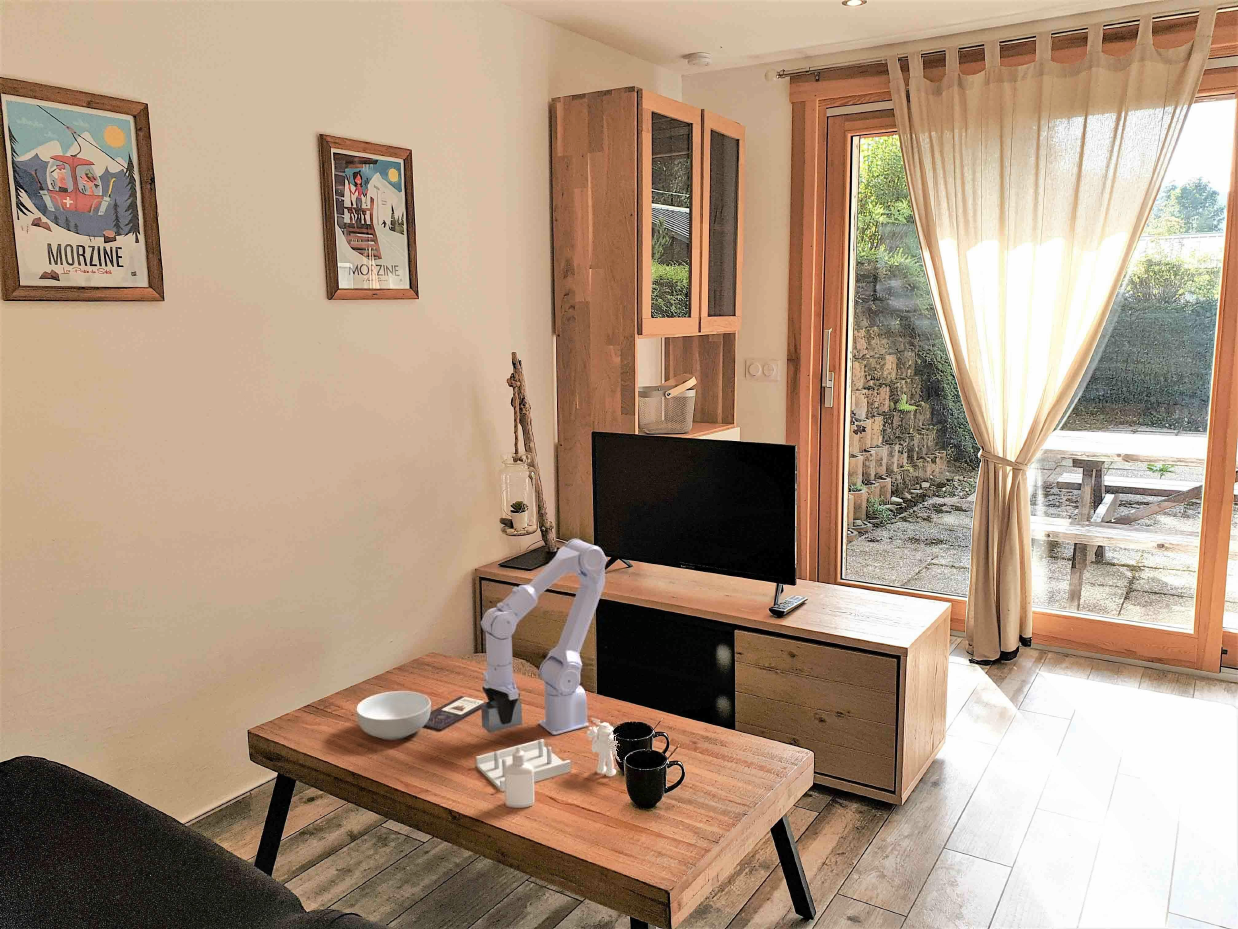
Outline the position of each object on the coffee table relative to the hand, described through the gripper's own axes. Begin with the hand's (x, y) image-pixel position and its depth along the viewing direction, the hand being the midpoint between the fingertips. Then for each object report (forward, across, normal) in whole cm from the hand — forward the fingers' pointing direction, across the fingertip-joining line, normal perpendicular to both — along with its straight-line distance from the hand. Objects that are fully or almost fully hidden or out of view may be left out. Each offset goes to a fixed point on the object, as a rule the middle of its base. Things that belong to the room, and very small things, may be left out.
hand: (501, 719), depth 216 cm
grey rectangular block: (+2, 0, 0) cm, 2 cm away
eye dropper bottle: (+5, +28, -9) cm, 30 cm away
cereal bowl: (+5, -18, -19) cm, 27 cm away
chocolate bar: (+6, -21, -4) cm, 22 cm away
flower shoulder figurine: (+6, +26, +12) cm, 29 cm away
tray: (+5, +15, -2) cm, 16 cm away
